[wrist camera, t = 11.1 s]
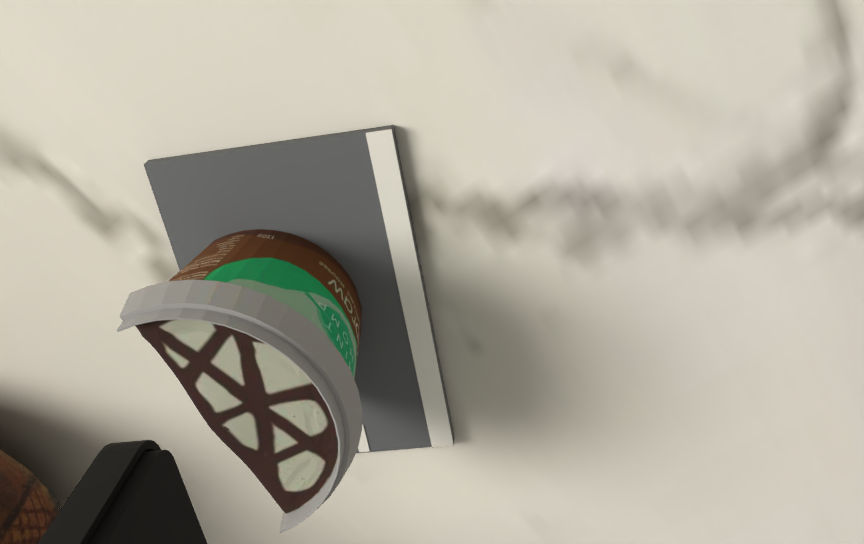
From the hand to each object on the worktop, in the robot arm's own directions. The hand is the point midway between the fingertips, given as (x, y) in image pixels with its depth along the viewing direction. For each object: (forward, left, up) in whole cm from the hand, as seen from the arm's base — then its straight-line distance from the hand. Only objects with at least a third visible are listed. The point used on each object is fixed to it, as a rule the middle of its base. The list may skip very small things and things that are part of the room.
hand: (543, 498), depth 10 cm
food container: (+11, +11, -28) cm, 32 cm away
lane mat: (+12, +12, -28) cm, 33 cm away
